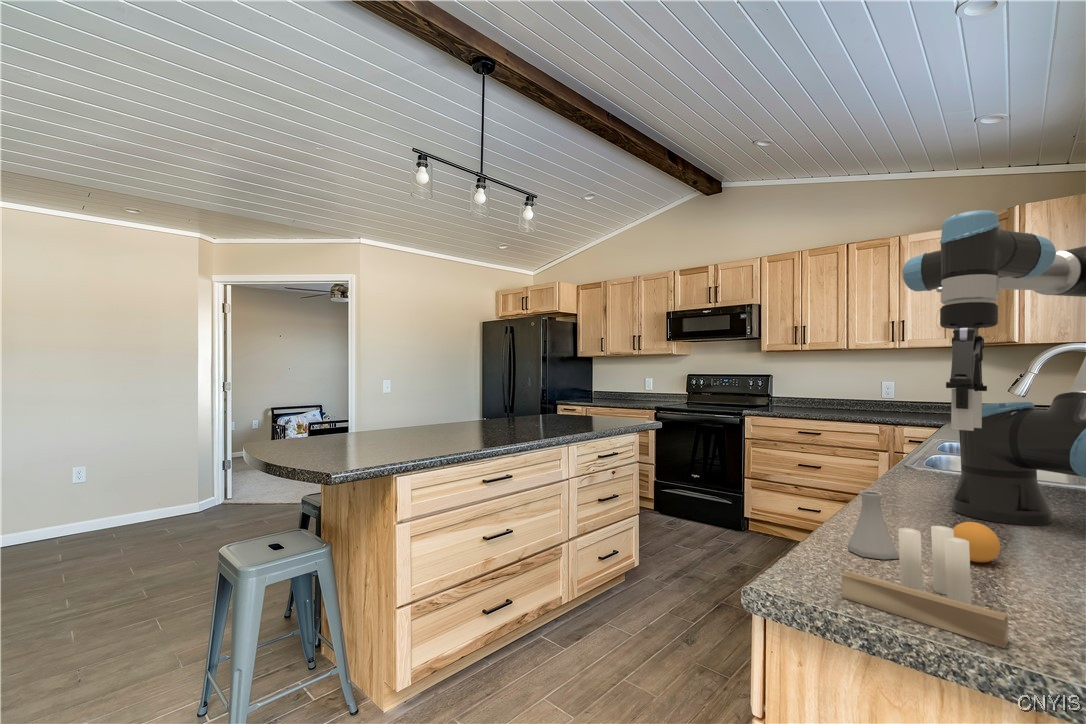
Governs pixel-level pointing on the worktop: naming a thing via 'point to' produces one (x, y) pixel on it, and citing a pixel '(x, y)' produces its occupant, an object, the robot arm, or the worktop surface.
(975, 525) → the ball
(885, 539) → the flask
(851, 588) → the back wall
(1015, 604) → the worktop surface
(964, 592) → the pin
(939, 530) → the pin front
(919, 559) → the pin
